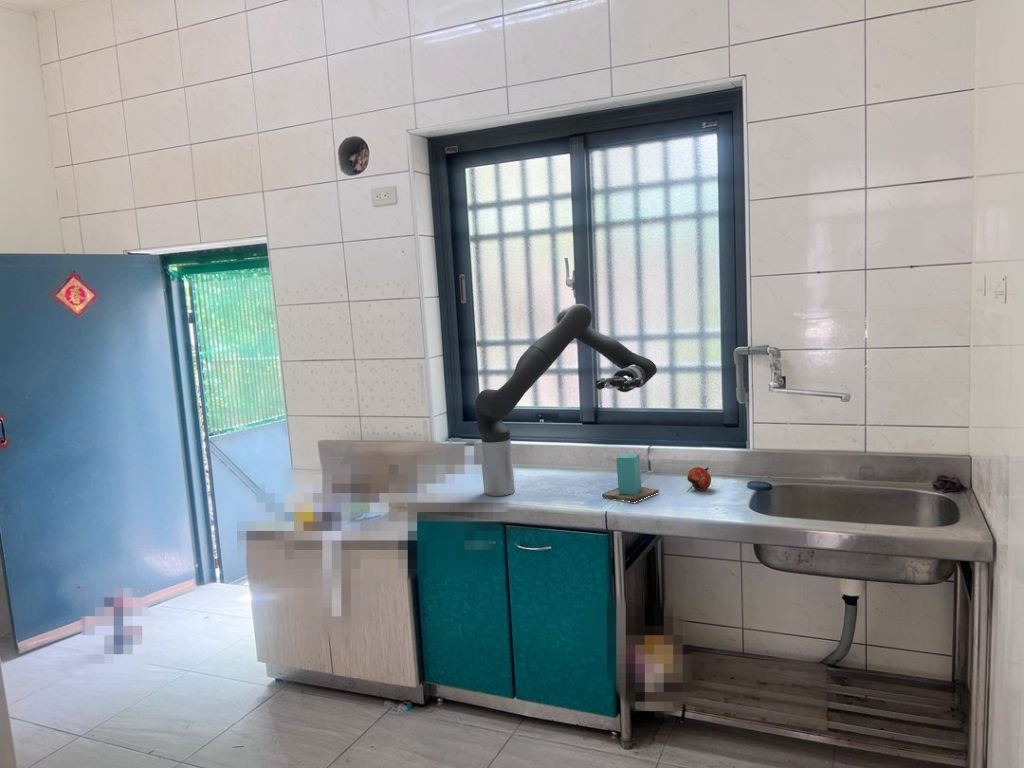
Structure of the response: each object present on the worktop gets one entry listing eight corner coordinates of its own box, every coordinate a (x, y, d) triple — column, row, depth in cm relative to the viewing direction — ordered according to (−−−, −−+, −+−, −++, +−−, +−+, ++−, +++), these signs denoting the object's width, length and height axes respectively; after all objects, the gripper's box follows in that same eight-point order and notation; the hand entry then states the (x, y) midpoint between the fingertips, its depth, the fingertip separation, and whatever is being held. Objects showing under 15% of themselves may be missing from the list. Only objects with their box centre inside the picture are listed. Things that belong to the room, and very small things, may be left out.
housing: (618, 493, 216) (616, 457, 215) (624, 488, 221) (621, 453, 220) (636, 494, 214) (634, 458, 213) (641, 489, 219) (639, 453, 217)
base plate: (602, 497, 218) (601, 493, 218) (626, 488, 226) (626, 484, 226) (634, 503, 209) (634, 499, 209) (658, 493, 217) (658, 489, 217)
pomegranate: (699, 502, 213) (722, 478, 214) (683, 484, 213) (706, 460, 214) (689, 498, 221) (712, 475, 222) (673, 480, 220) (696, 458, 221)
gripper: (606, 368, 242) (589, 374, 228) (648, 367, 236) (633, 373, 221) (607, 390, 243) (591, 398, 229) (649, 390, 237) (635, 397, 222)
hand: (612, 386), depth 225 cm, fingers open, 8 cm apart
